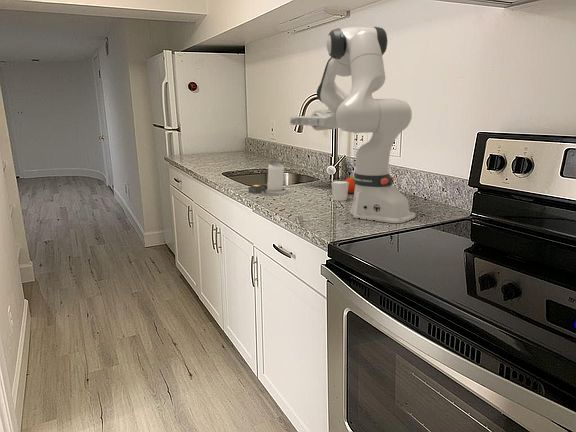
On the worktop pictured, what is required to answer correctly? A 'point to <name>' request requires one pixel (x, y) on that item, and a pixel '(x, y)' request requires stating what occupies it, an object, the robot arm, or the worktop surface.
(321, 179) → the worktop surface
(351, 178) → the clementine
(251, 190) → the panel
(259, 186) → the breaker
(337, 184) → the white cup
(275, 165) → the can
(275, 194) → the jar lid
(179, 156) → the worktop surface
